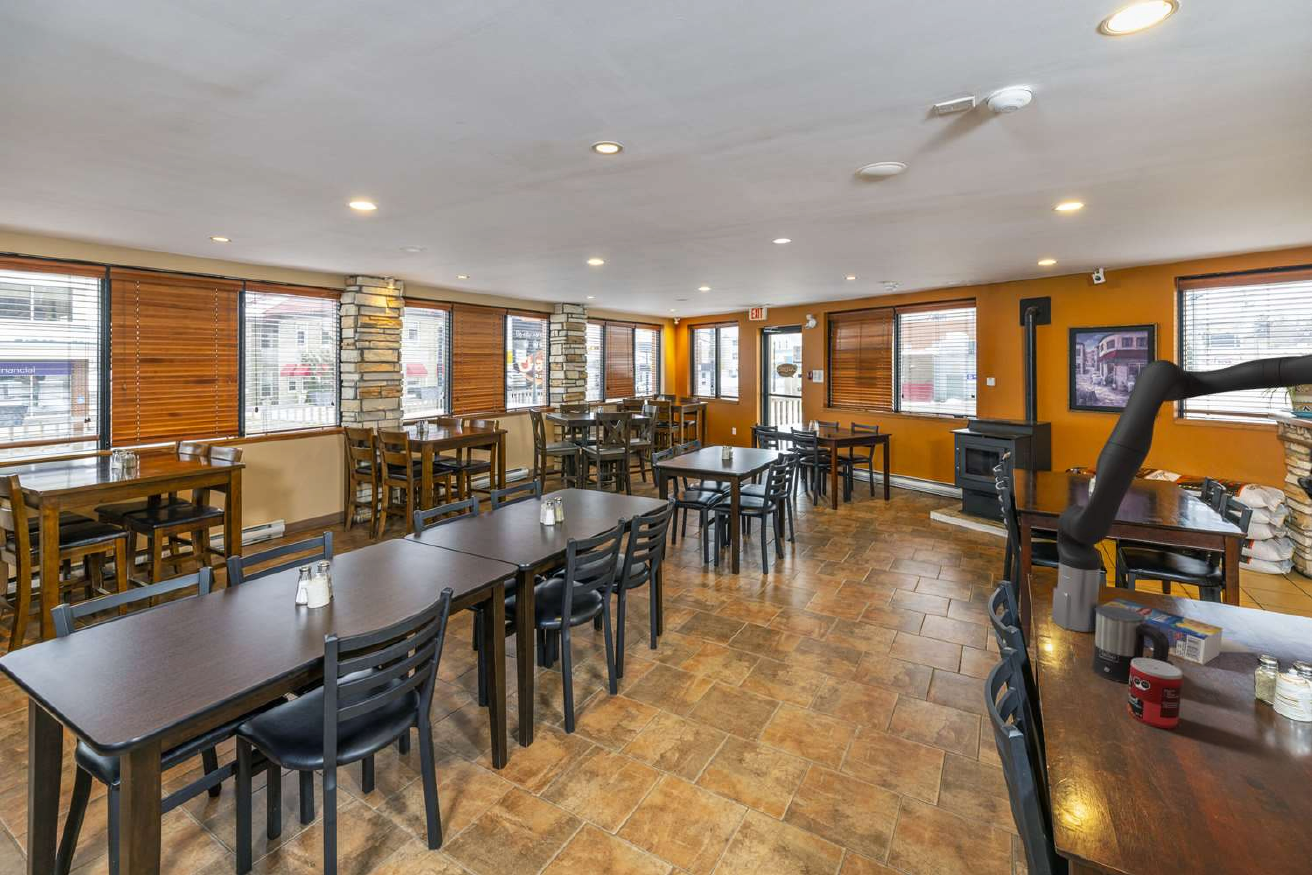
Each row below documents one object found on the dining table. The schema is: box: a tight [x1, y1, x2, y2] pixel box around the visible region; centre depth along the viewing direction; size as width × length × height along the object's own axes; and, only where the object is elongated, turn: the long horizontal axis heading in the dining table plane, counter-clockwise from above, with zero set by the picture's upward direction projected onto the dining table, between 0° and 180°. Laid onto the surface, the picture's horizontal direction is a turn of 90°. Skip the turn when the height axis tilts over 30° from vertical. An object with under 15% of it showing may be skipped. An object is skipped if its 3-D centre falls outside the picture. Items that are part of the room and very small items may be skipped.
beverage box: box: [1100, 598, 1223, 666], centre depth 154 cm, size 7×11×22 cm
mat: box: [1149, 635, 1255, 654], centre depth 159 cm, size 24×20×1 cm
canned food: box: [1126, 657, 1183, 729], centre depth 120 cm, size 8×8×11 cm
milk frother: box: [1091, 605, 1175, 684], centre depth 138 cm, size 14×16×15 cm
